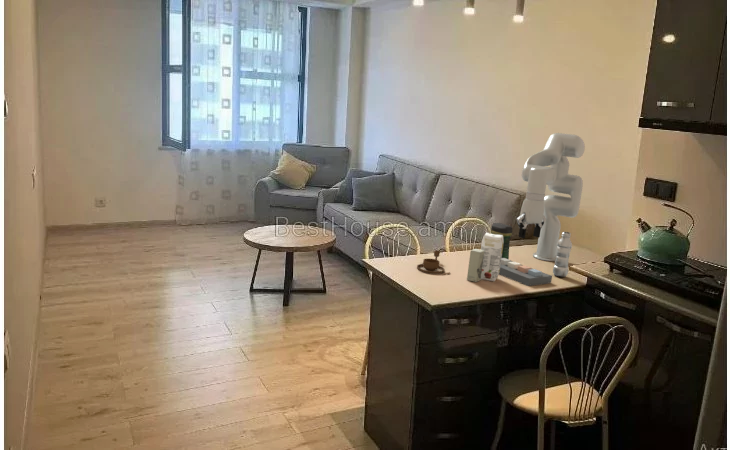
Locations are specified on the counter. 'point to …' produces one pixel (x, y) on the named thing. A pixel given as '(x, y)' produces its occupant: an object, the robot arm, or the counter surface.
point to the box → (475, 265)
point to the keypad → (524, 276)
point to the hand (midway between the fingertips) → (529, 237)
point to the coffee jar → (506, 232)
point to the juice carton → (491, 256)
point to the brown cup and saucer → (432, 265)
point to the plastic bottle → (562, 255)
